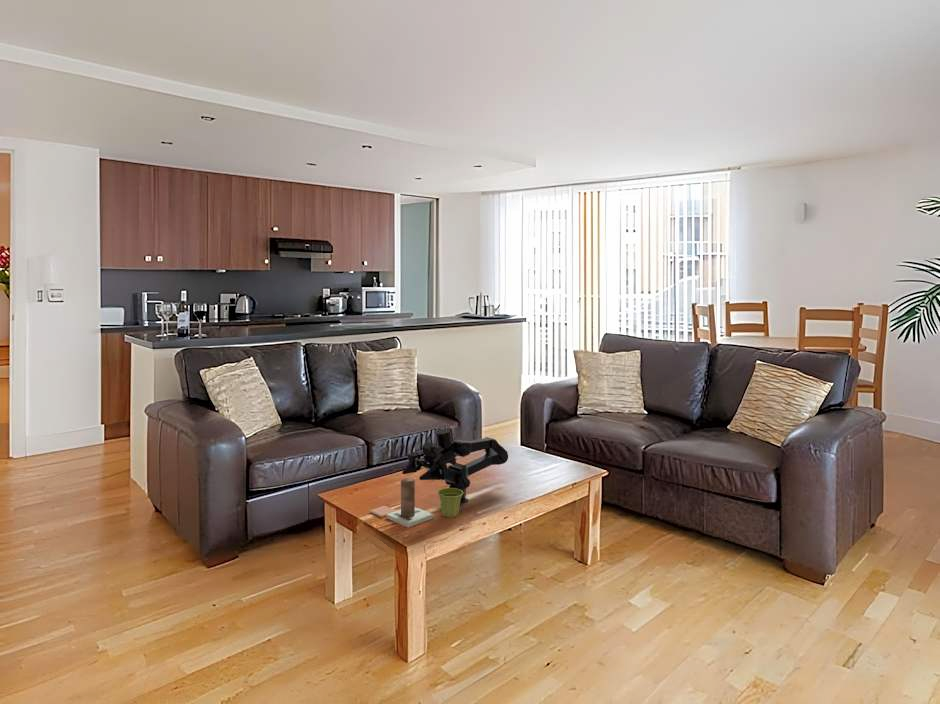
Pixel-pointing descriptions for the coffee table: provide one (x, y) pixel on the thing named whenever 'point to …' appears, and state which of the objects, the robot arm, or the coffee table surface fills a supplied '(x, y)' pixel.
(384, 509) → the terracotta tile
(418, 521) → the letter board
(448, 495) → the plant pot
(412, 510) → the walnut post
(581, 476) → the coffee table surface
